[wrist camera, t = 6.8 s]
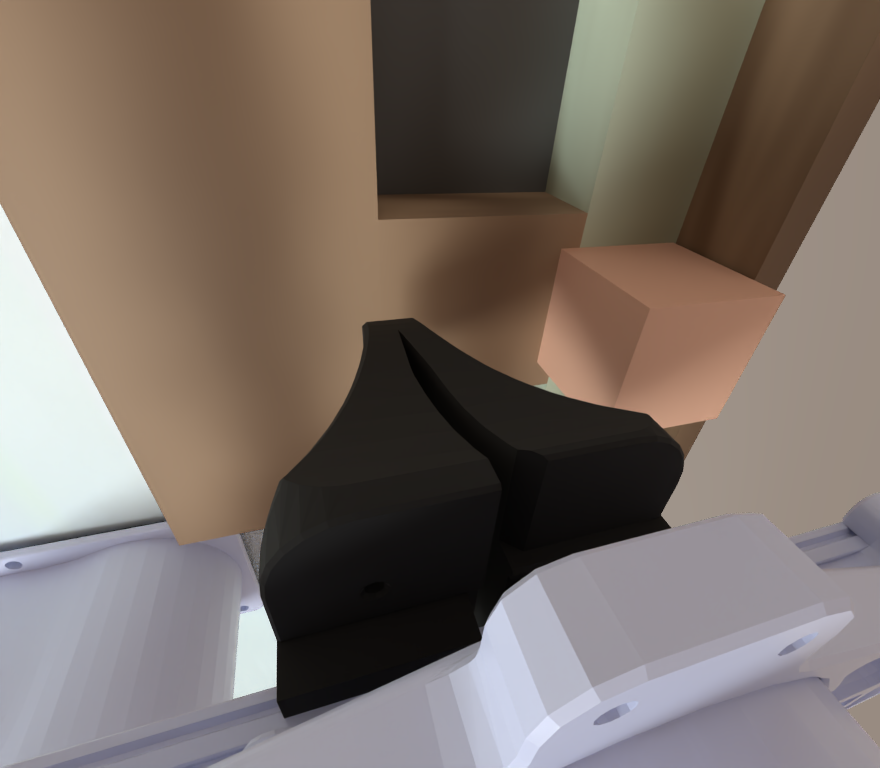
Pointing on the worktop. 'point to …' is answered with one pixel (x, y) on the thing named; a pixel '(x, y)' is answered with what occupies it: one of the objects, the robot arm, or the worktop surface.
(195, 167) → the board
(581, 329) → the block
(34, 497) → the worktop surface
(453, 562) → the robot arm
